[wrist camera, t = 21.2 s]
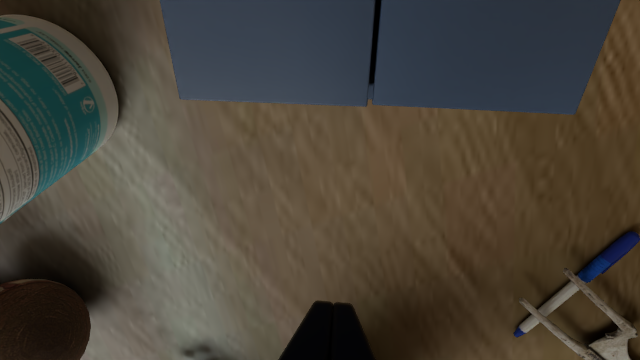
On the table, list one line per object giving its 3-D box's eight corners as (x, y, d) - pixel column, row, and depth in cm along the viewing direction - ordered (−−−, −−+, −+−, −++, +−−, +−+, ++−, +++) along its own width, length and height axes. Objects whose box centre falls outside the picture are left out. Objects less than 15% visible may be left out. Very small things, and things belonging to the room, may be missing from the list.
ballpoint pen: (637, 237, 20) (651, 243, 20) (627, 227, 21) (641, 233, 21) (512, 337, 26) (524, 341, 26) (508, 326, 26) (519, 330, 27)
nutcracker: (513, 302, 23) (595, 264, 20) (508, 291, 23) (586, 253, 21) (626, 397, 28) (700, 376, 26) (619, 386, 29) (690, 364, 27)
